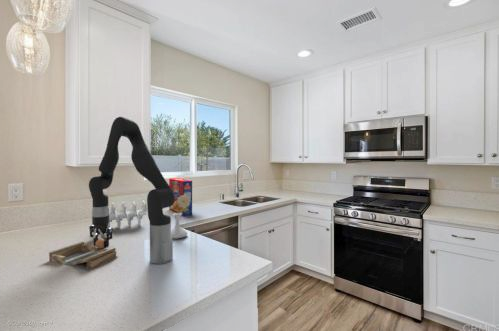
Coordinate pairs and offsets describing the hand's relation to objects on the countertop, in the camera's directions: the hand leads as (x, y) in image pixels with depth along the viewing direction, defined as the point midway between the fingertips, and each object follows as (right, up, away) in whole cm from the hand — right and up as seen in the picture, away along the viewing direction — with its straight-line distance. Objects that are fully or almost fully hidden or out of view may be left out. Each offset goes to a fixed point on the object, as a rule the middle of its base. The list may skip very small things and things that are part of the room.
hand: (101, 246), depth 127 cm
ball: (0, +2, 0) cm, 2 cm away
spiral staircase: (-6, 0, +36) cm, 37 cm away
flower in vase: (+35, -1, +19) cm, 40 cm away
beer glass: (-9, 0, +16) cm, 18 cm away
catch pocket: (-7, -1, -11) cm, 13 cm away
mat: (+1, -2, -14) cm, 14 cm away
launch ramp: (+6, -1, -15) cm, 17 cm away
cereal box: (+18, +2, +82) cm, 84 cm away
